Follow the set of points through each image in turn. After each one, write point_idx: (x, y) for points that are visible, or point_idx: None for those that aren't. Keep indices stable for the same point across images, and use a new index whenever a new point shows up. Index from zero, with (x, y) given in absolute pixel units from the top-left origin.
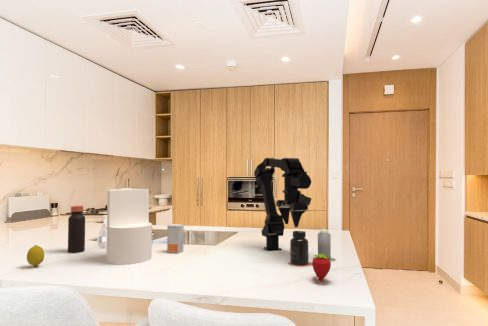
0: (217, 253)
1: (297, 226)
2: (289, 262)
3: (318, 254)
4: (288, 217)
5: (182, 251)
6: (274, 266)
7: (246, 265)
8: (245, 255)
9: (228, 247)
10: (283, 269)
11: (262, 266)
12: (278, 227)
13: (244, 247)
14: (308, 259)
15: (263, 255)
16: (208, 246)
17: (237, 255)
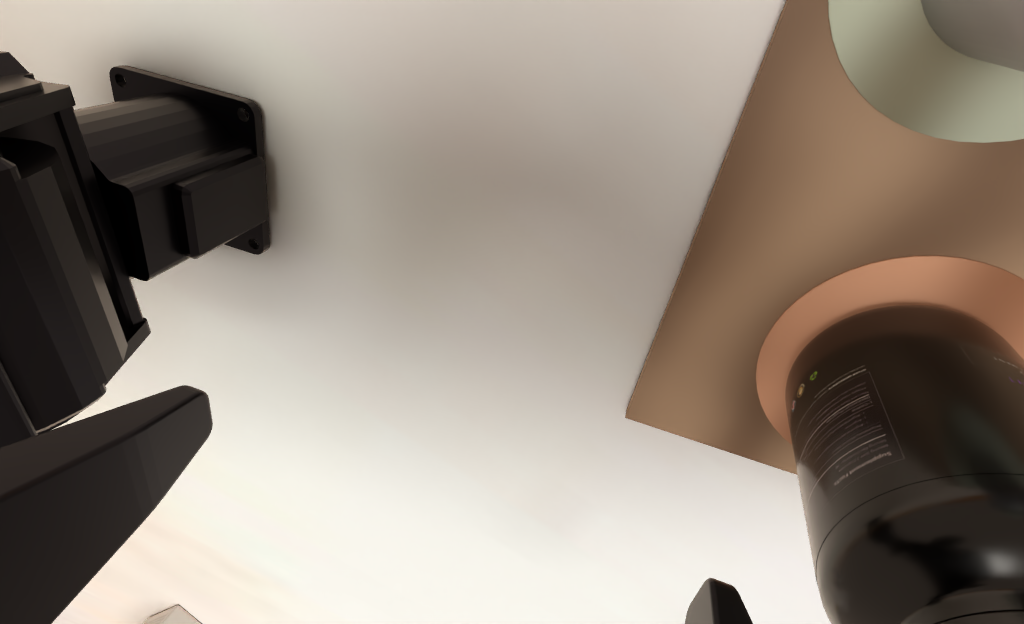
0: (251, 535)
1: (737, 608)
2: (780, 422)
3: (1011, 68)
4: (39, 496)
5: (183, 611)
6: (743, 530)
7: (594, 608)
8: (349, 463)
9: (97, 402)
10: None
11: (682, 574)
12: (40, 288)
13: None
14: (1021, 357)
15: (394, 375)
16: None
17: (332, 495)
